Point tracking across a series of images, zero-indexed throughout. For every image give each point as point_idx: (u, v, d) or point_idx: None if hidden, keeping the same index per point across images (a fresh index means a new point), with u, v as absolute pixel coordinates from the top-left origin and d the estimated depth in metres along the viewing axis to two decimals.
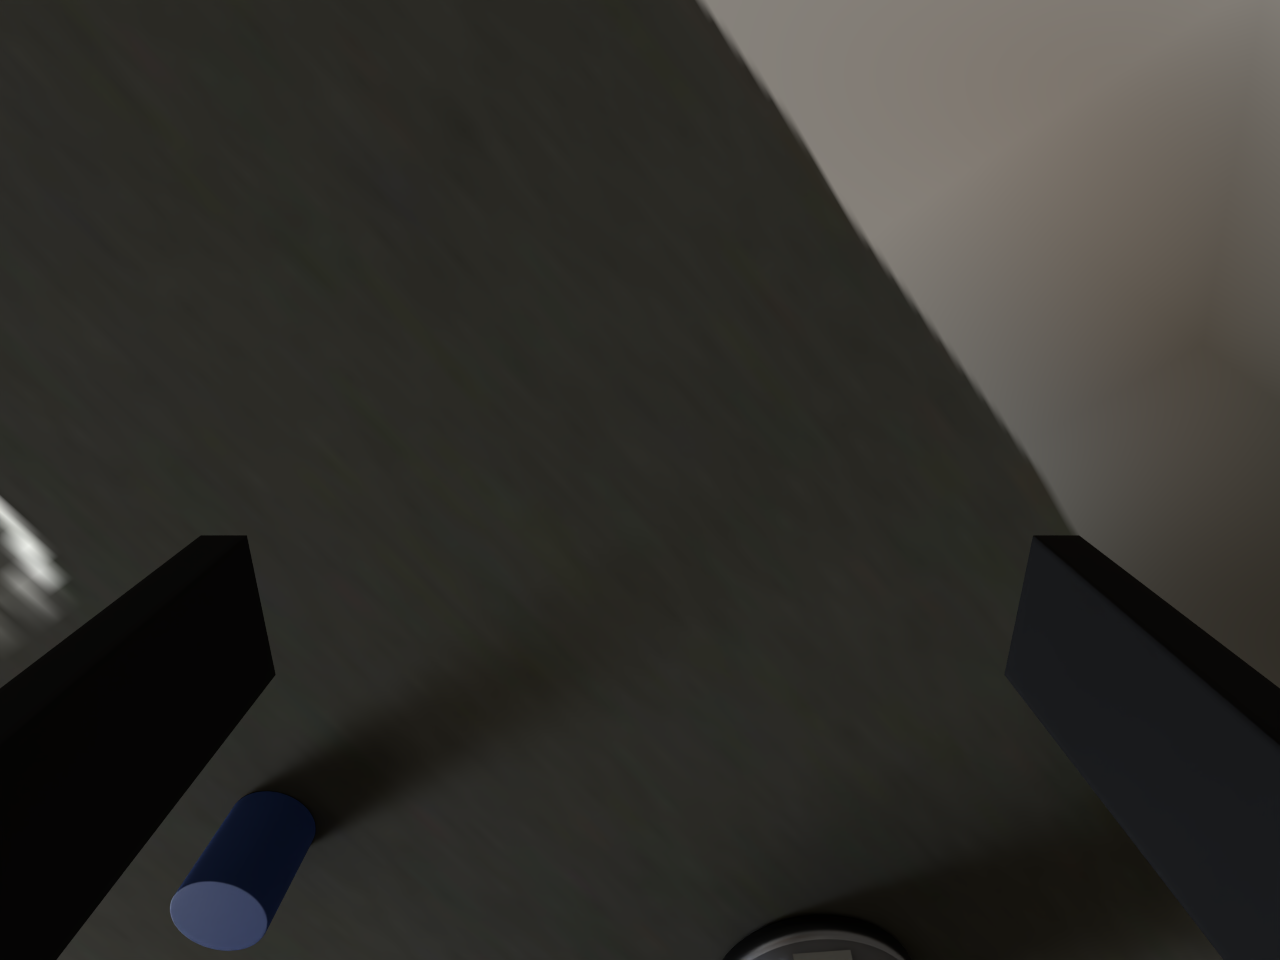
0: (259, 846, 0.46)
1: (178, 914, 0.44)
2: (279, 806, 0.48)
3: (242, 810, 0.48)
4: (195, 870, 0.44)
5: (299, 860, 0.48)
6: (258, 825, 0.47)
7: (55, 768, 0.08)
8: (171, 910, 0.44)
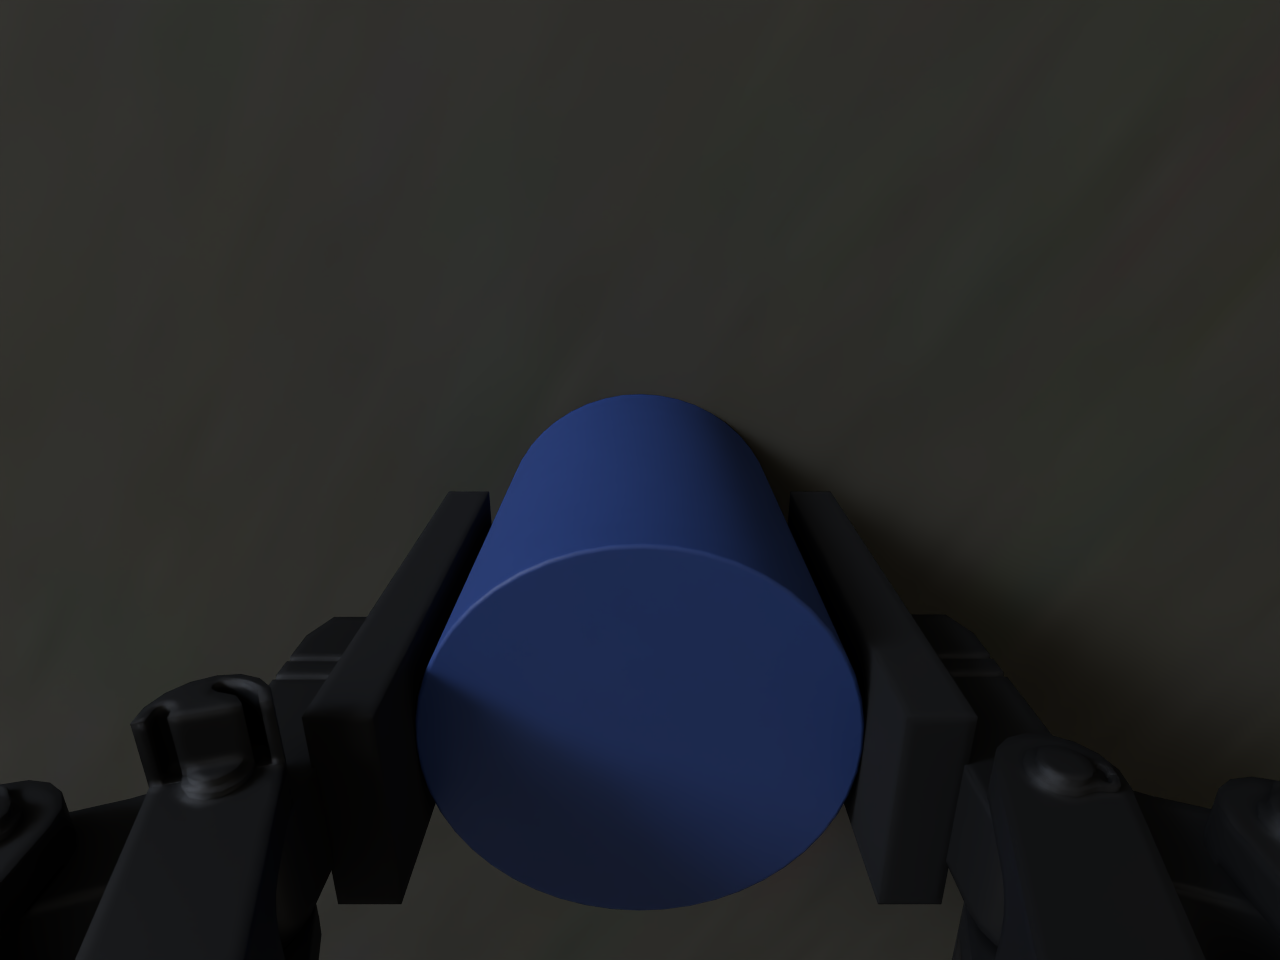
0: None
1: (579, 589, 0.09)
2: None
3: (756, 468, 0.14)
4: (770, 548, 0.10)
5: None
6: None
7: None
8: (572, 548, 0.09)
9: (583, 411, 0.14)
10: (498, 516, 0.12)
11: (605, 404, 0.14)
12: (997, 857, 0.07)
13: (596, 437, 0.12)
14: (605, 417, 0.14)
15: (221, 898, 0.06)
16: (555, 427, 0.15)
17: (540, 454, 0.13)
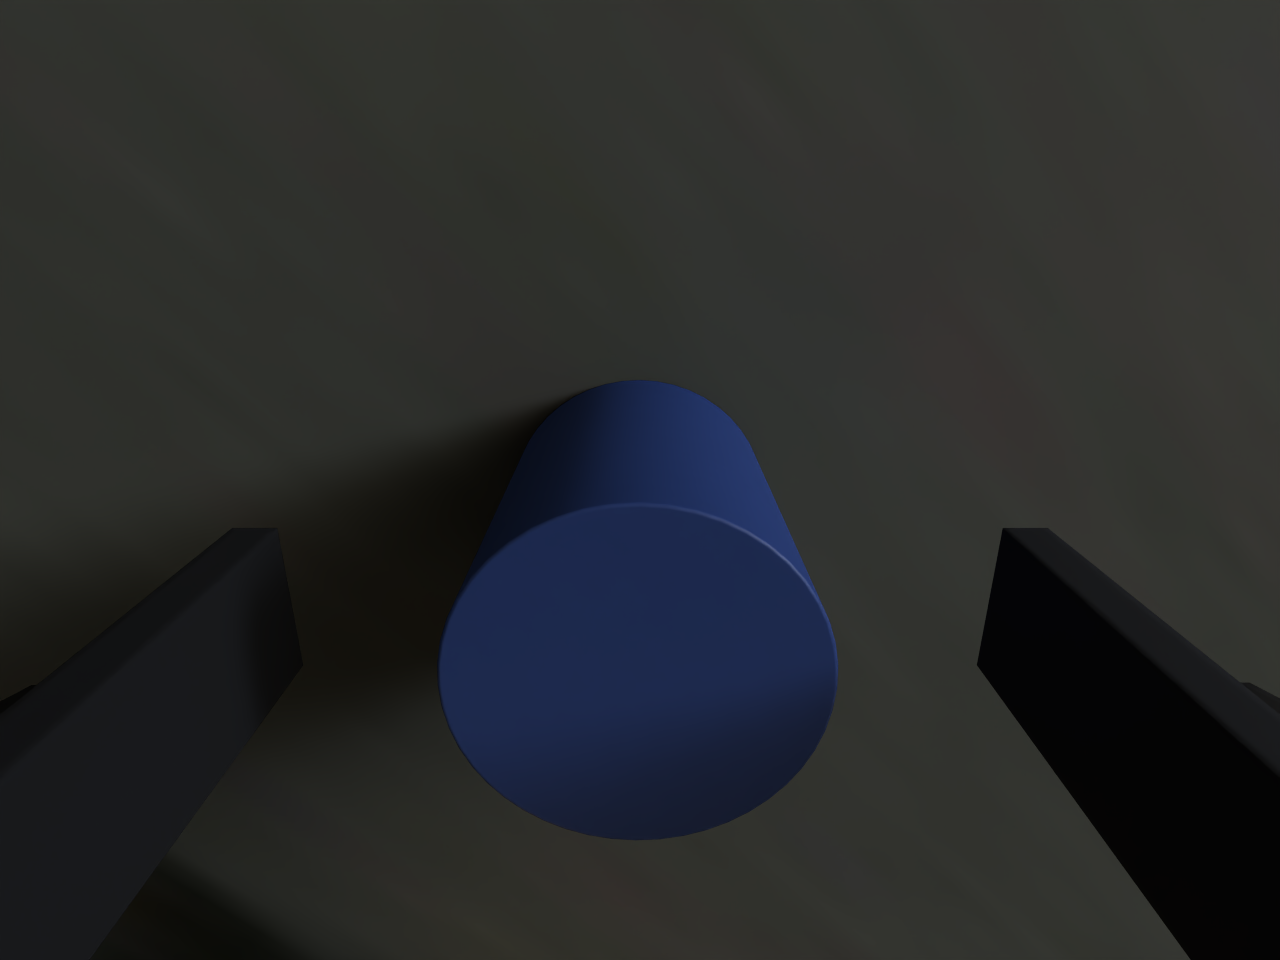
0: None
1: (584, 544, 0.10)
2: None
3: (746, 448, 0.15)
4: (753, 510, 0.11)
5: None
6: None
7: (107, 749, 0.08)
8: (578, 507, 0.10)
9: (586, 395, 0.16)
10: (508, 489, 0.13)
11: (606, 389, 0.16)
12: None
13: (598, 417, 0.14)
14: (606, 400, 0.15)
15: None
16: (560, 410, 0.16)
17: (546, 434, 0.14)
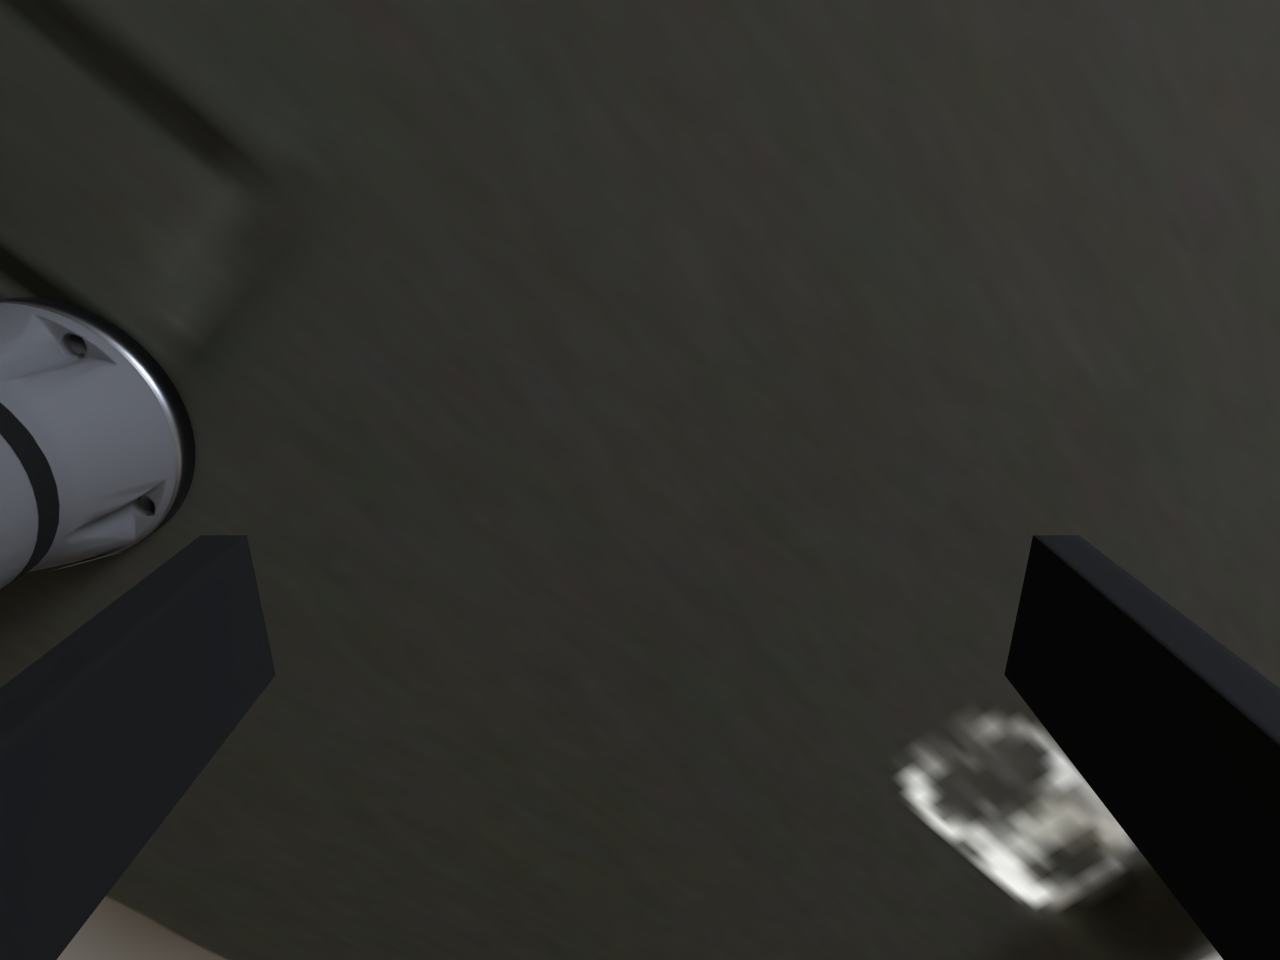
0: None
1: None
2: None
3: None
4: None
5: None
6: None
7: (56, 768, 0.08)
8: None
9: None
10: None
11: None
12: None
13: None
14: None
15: None
16: None
17: None
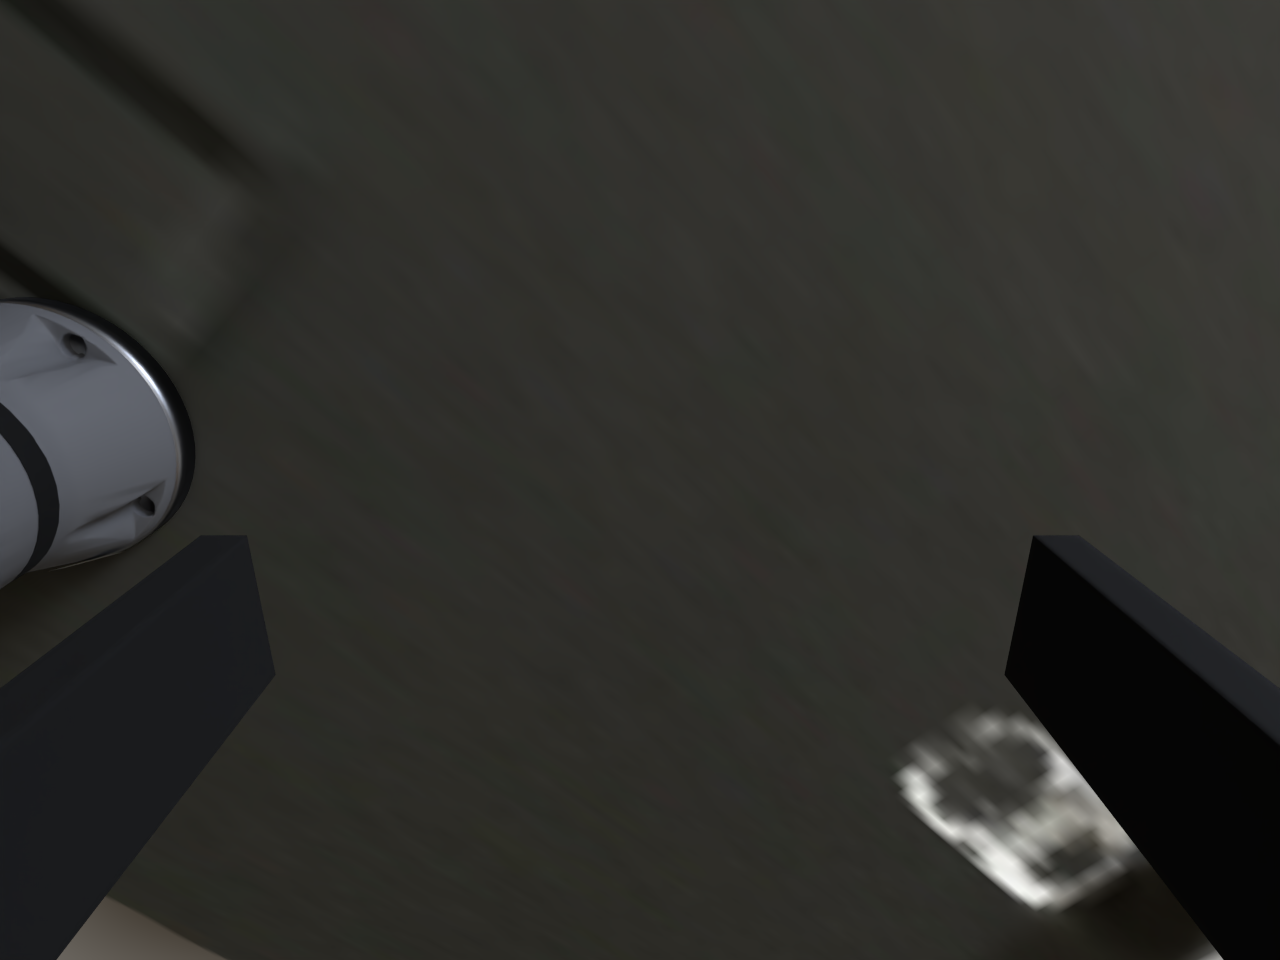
0: None
1: None
2: None
3: None
4: None
5: None
6: None
7: (56, 768, 0.08)
8: None
9: None
10: None
11: None
12: None
13: None
14: None
15: None
16: None
17: None
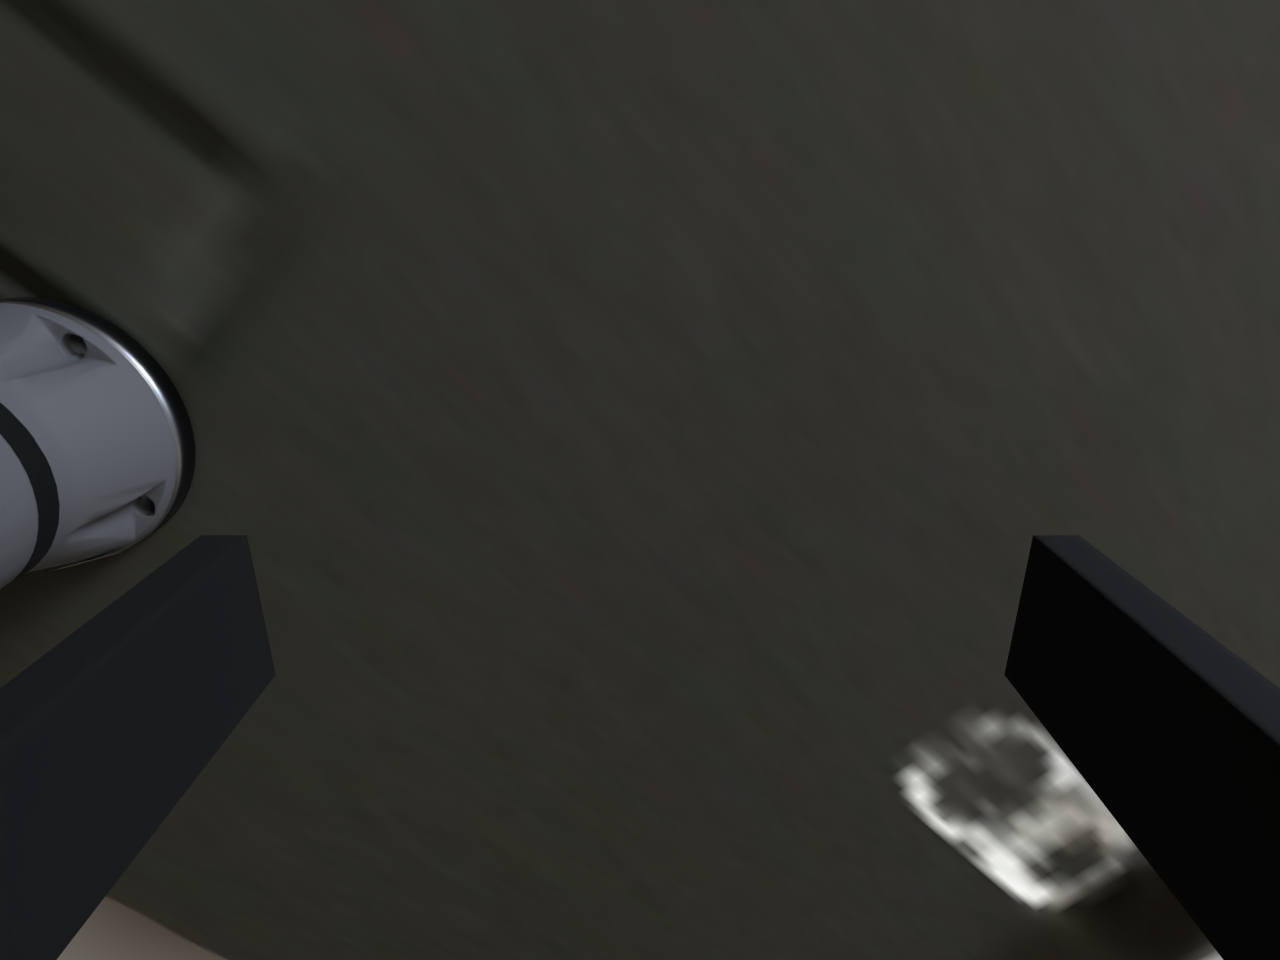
0: None
1: None
2: None
3: None
4: None
5: None
6: None
7: (56, 768, 0.08)
8: None
9: None
10: None
11: None
12: None
13: None
14: None
15: None
16: None
17: None
